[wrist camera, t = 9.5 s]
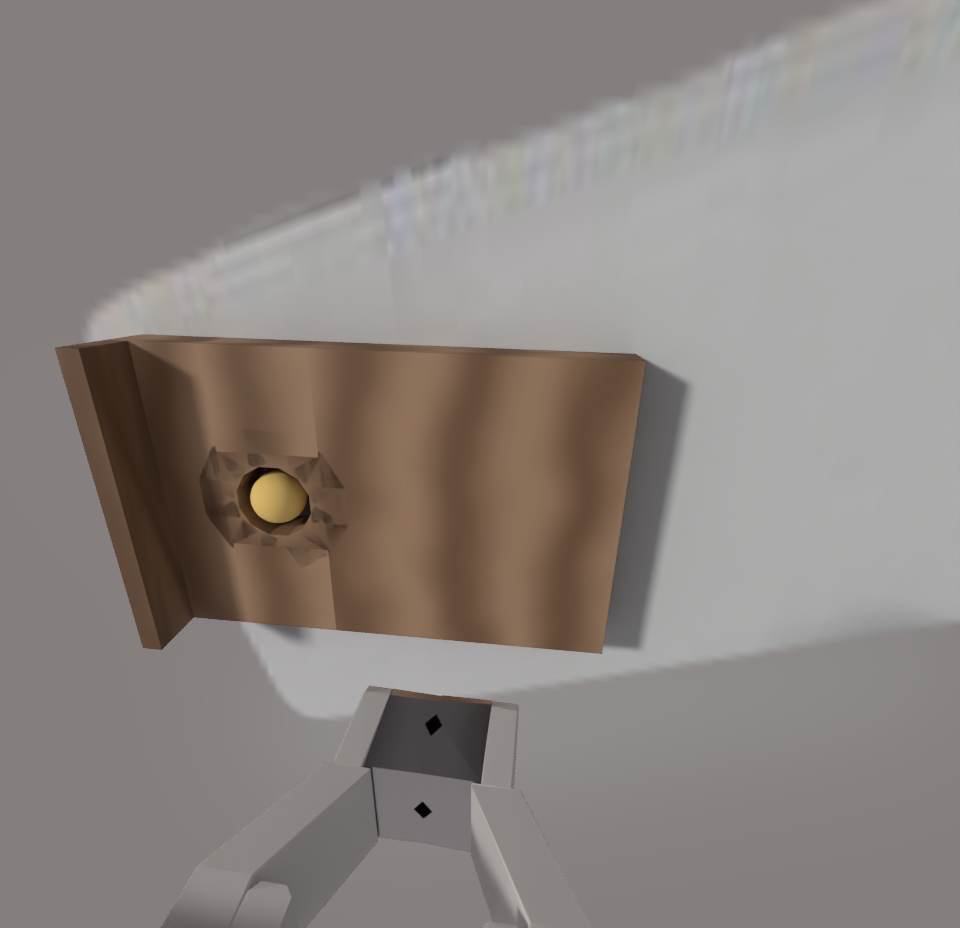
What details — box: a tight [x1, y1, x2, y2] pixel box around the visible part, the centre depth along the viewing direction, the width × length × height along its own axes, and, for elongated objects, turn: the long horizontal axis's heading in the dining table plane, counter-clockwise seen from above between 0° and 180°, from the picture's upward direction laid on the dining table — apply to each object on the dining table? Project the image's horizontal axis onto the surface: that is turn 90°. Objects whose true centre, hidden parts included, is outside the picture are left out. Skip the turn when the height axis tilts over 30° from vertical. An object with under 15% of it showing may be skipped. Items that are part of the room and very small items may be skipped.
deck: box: [55, 335, 646, 654], centre depth 27 cm, size 28×18×6 cm, turn 88°
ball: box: [250, 470, 308, 523], centre depth 29 cm, size 3×3×3 cm
